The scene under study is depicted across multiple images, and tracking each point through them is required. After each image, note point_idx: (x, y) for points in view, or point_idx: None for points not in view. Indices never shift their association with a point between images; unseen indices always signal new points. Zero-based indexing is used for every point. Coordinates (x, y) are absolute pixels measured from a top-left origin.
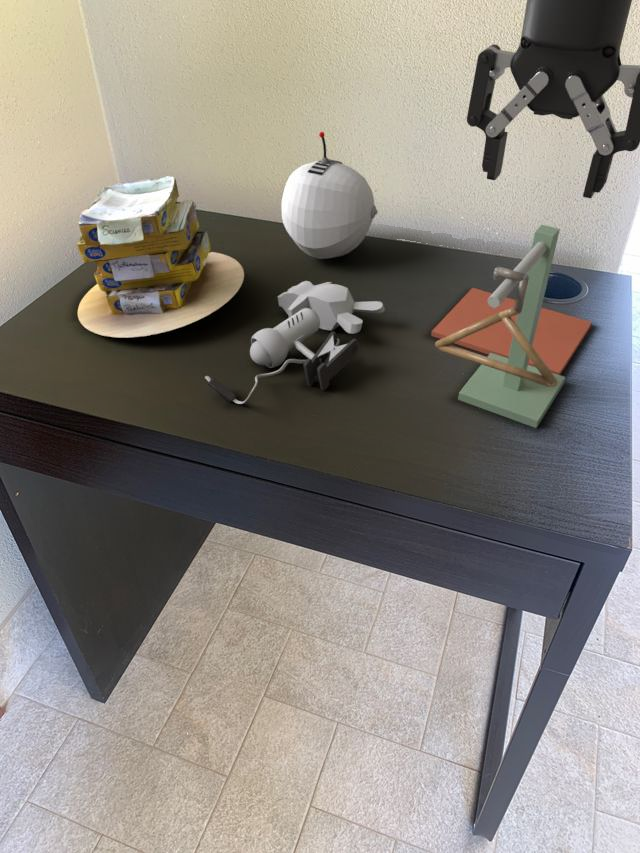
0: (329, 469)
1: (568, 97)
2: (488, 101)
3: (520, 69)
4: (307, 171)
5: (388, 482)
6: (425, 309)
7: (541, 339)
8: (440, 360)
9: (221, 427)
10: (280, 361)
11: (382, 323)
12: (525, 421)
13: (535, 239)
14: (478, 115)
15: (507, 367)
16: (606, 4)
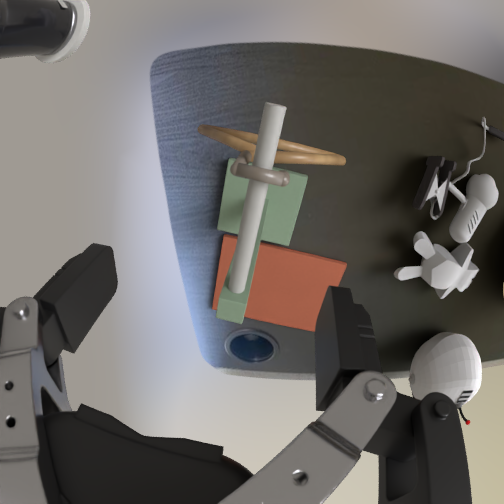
0: (395, 54)
1: (73, 474)
2: (389, 476)
3: None
4: (472, 391)
5: (342, 49)
6: (354, 297)
7: None
8: (333, 229)
9: (486, 95)
10: (470, 179)
11: (390, 268)
12: None
13: (245, 296)
14: (430, 424)
15: (254, 136)
16: None
